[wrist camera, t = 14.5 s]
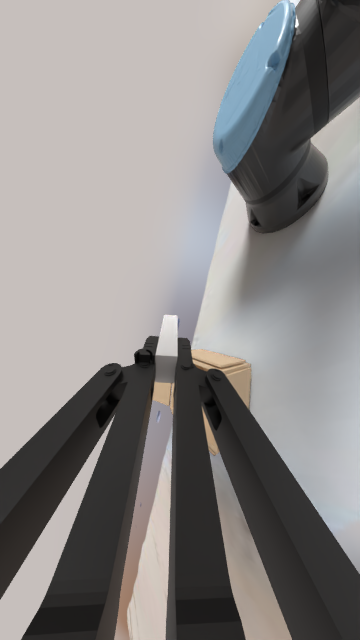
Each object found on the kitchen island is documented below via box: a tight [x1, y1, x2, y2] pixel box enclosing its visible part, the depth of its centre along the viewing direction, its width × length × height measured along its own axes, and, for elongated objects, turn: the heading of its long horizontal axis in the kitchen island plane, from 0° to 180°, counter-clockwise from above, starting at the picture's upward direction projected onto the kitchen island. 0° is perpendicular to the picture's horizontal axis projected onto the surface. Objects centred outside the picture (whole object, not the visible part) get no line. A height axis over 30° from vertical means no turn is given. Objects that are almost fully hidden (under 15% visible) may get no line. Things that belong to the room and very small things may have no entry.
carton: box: [170, 349, 251, 456], centre depth 36 cm, size 18×17×13 cm
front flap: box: [152, 382, 172, 406], centre depth 41 cm, size 15×1×12 cm
